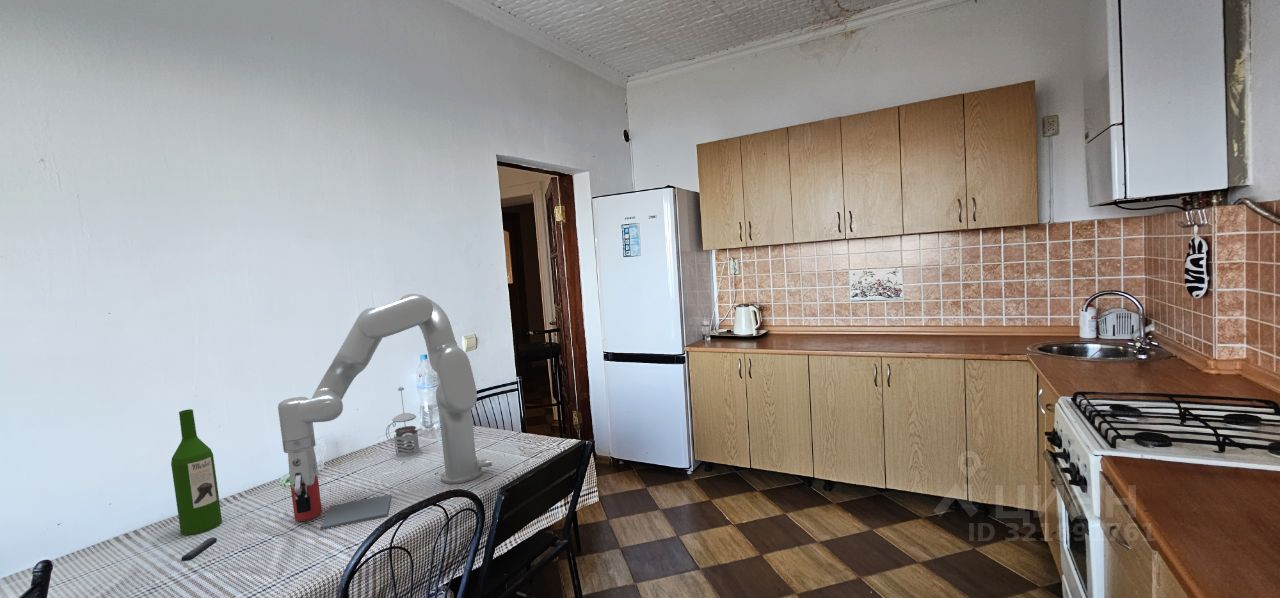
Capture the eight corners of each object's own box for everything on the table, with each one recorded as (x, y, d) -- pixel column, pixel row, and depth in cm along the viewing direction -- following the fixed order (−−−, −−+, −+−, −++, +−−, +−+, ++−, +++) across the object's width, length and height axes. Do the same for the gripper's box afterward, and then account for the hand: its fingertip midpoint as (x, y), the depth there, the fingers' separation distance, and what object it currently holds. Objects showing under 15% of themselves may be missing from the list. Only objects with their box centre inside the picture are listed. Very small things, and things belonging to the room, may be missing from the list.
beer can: (309, 522, 151) (304, 479, 150) (289, 522, 152) (283, 479, 151) (328, 511, 157) (322, 469, 156) (307, 511, 158) (302, 469, 157)
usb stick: (208, 543, 144) (207, 537, 144) (218, 541, 144) (218, 536, 144) (180, 562, 135) (179, 556, 135) (191, 561, 135) (190, 555, 135)
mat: (391, 496, 164) (391, 494, 164) (387, 516, 151) (387, 513, 151) (330, 508, 159) (329, 506, 159) (320, 530, 146) (320, 527, 146)
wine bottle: (194, 537, 147) (178, 416, 145) (173, 533, 150) (156, 415, 148) (229, 521, 155) (214, 406, 153) (208, 518, 159) (193, 405, 156)
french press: (416, 459, 196) (408, 389, 194) (383, 461, 196) (375, 391, 194) (427, 449, 205) (420, 382, 203) (395, 452, 206) (388, 385, 204)
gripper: (307, 450, 146) (316, 516, 147) (320, 432, 162) (328, 491, 164) (274, 455, 143) (283, 522, 145) (291, 436, 160) (299, 497, 161)
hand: (307, 505), depth 154 cm, fingers closed on beer can, 6 cm apart
